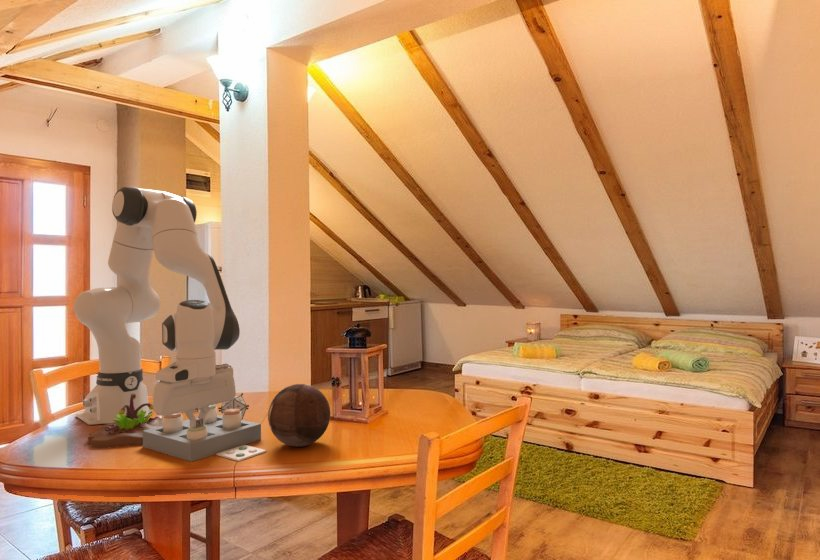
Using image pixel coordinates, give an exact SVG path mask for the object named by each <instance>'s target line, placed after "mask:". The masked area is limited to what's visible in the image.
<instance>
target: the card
mask: <svg viewBox="0 0 820 560" xmlns="http://www.w3.org/2000/svg"><path fill="white" fill-rule="evenodd" d="M264 453H267V449H263V448H260V447H255V446H251V445H248V444H245V445H242V446H239V447H236V448H232V449H229V450H226V451H223V452H220V453H217V454H216V456H218V457H222V458H225V459H228V460H232V461H235V462H241V461H244V460H247V459H250V458H253V457H256V456H258V455H261V454H264Z"/></svg>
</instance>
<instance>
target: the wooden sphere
mask: <svg viewBox="0 0 820 560" xmlns="http://www.w3.org/2000/svg"><path fill="white" fill-rule="evenodd" d="M267 420H268V426H269V428H270V430H271V432H272V435H274V437H275V438H276V439H277V440H278V441H280V442H281V443H282V444H284V445H287V446H290V447H294V448H295V447H296V448H298V447H299V448H300V447H305V446H309V445H312V444H313V443H315V442H317V441H318V440H320V439H321V437H323V435H324V434H325V433H326V431H327V429H328V427H329V424H330V420H331V407H330V405H329V401H328V400H327V397H326V396H325V395H324V393H323V392H322V391H320V389H318V388H316V387H315V386H312V385H310V384H305V383H296V384H292V385H291V384H290V385H289V386H286V387H283V389H281V390H280V391H279V392H278V393H277V394H276V395H275V396H274V397H273V399H272V400H271V402H270V405H269V408H268V413H267Z"/></svg>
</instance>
